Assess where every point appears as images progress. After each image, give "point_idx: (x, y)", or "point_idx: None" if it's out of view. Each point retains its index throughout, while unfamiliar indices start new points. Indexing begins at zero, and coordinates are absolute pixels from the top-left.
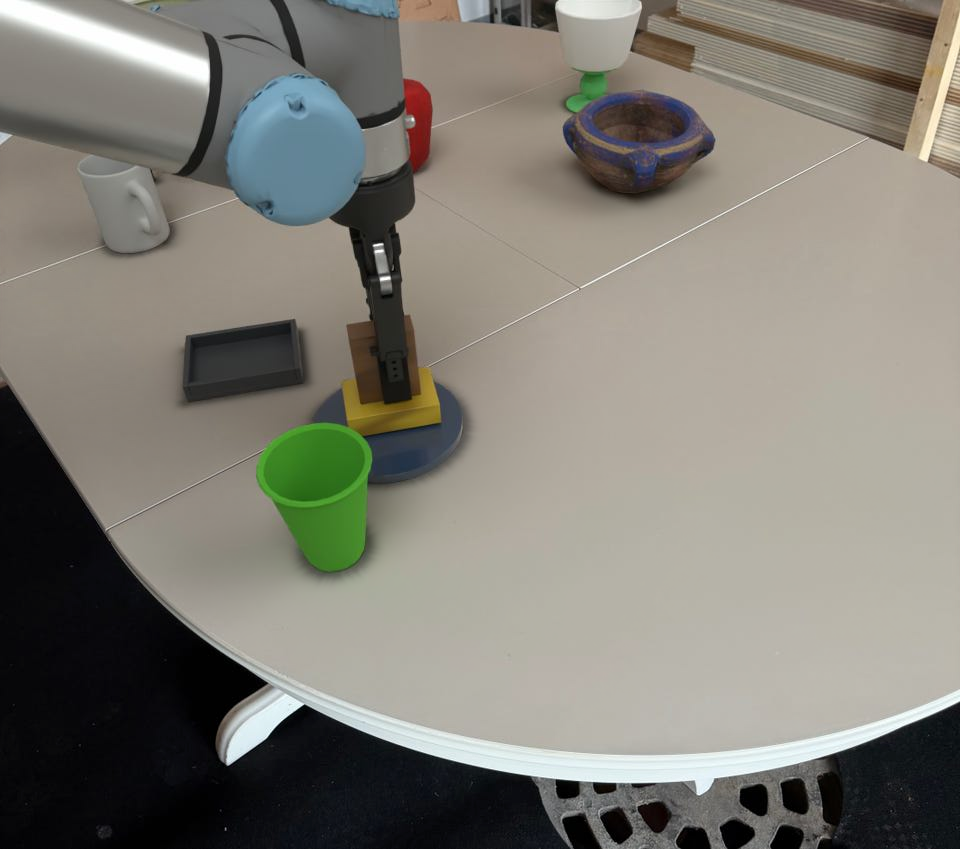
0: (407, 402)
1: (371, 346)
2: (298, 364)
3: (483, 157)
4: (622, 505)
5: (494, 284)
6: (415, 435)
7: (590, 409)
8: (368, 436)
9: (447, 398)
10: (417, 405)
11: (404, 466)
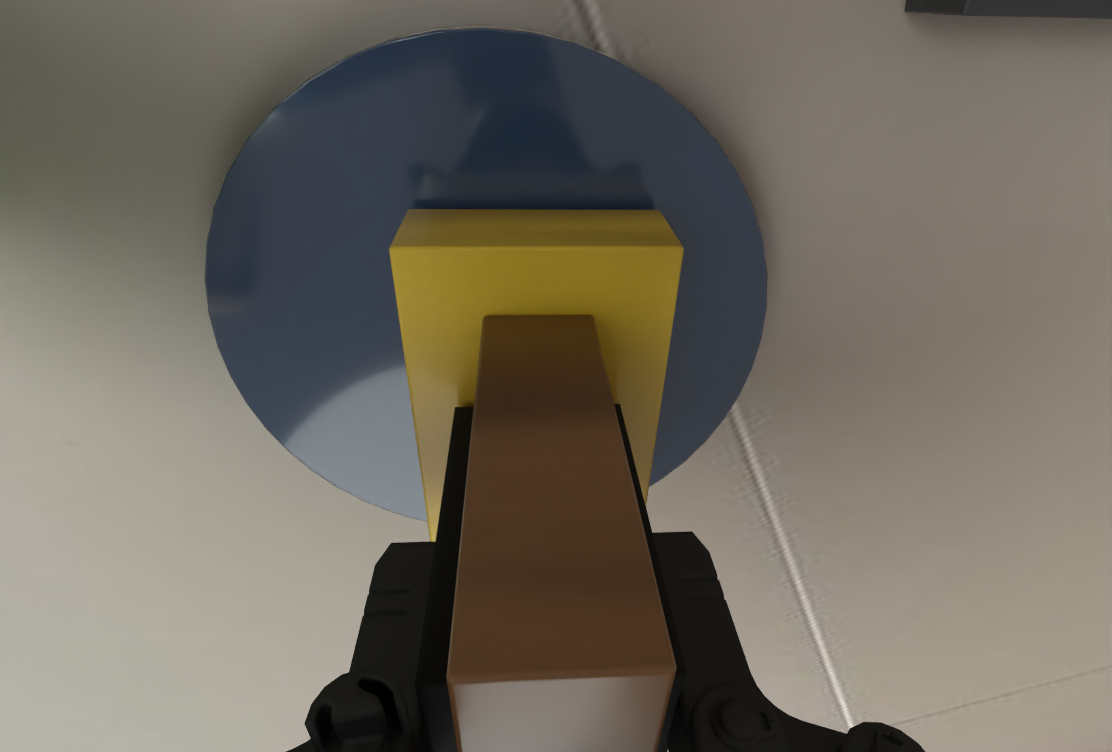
0: None
1: (401, 718)
2: (995, 7)
3: None
4: (173, 699)
5: (992, 627)
6: (407, 413)
7: None
8: None
9: None
10: (435, 497)
11: (254, 367)
